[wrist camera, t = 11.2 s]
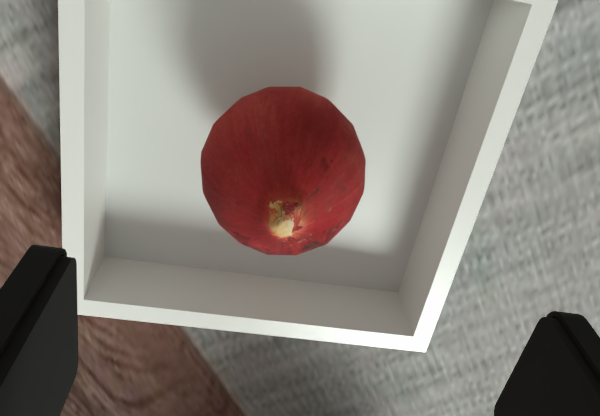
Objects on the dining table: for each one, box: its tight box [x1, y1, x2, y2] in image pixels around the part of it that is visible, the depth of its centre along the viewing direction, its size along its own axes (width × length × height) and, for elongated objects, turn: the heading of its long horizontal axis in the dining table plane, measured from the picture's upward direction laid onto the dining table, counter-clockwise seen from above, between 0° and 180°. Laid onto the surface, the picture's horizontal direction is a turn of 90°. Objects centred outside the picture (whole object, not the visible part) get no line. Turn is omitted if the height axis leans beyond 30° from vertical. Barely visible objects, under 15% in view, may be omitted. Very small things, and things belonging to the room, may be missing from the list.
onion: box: [200, 86, 366, 255], centre depth 19 cm, size 6×6×8 cm
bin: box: [58, 0, 558, 352], centre depth 22 cm, size 16×16×4 cm
